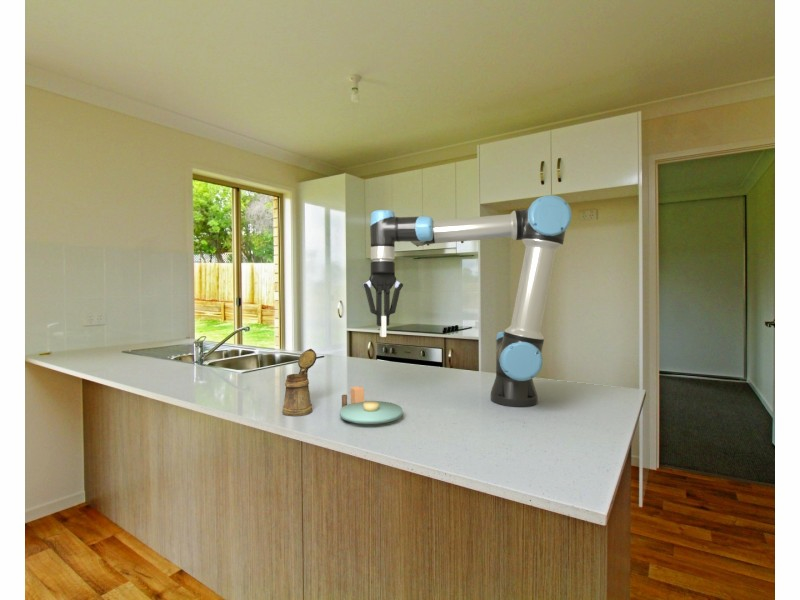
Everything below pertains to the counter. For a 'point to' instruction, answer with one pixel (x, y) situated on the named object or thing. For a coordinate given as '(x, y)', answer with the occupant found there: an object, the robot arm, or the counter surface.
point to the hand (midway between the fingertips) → (383, 336)
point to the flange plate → (371, 416)
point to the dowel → (344, 400)
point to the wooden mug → (299, 387)
